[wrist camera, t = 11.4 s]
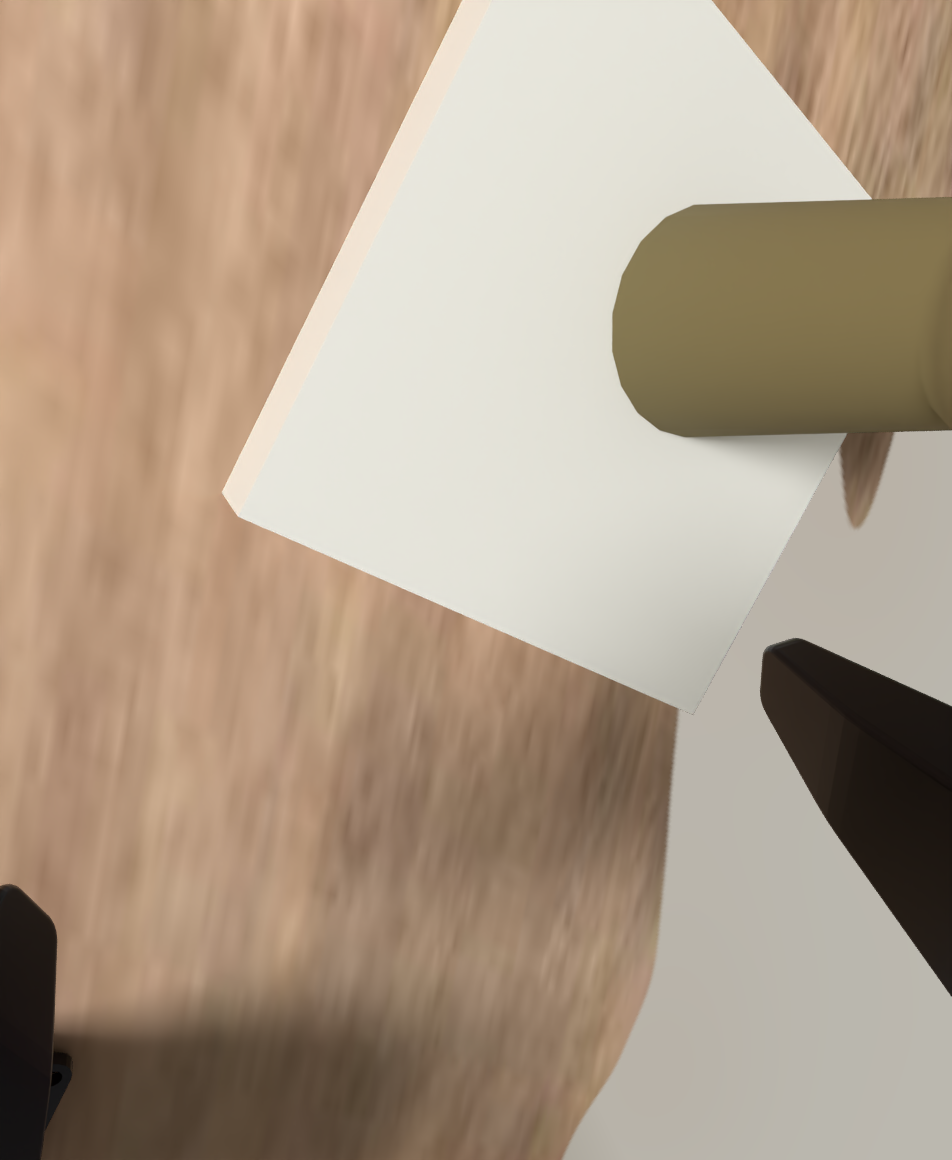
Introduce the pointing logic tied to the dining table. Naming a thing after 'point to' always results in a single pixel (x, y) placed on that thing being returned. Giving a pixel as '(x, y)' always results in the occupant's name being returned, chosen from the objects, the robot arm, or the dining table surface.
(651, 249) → the cork
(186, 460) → the dining table surface
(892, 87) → the dining table surface
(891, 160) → the dining table surface
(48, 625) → the dining table surface
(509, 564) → the base block
